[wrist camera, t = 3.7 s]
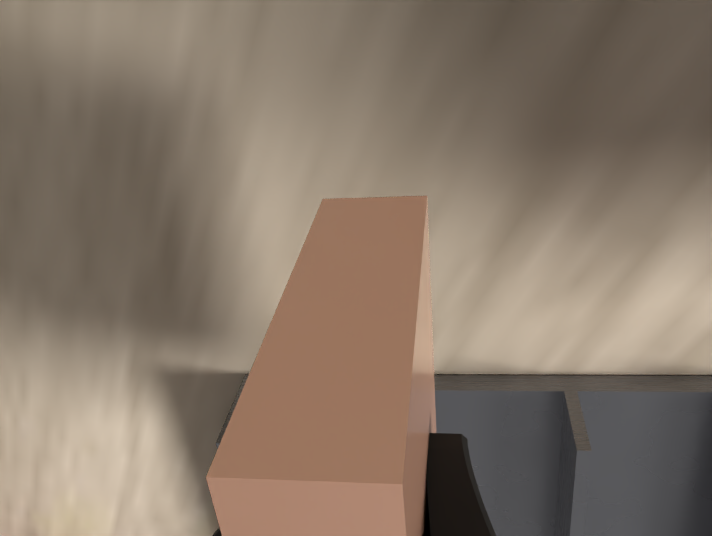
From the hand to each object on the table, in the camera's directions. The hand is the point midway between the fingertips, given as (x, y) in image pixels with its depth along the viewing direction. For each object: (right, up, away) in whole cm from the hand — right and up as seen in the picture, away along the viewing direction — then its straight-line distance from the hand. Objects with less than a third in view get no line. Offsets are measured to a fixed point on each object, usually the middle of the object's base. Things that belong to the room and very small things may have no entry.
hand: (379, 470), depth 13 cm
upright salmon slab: (0, +1, +2) cm, 3 cm away
